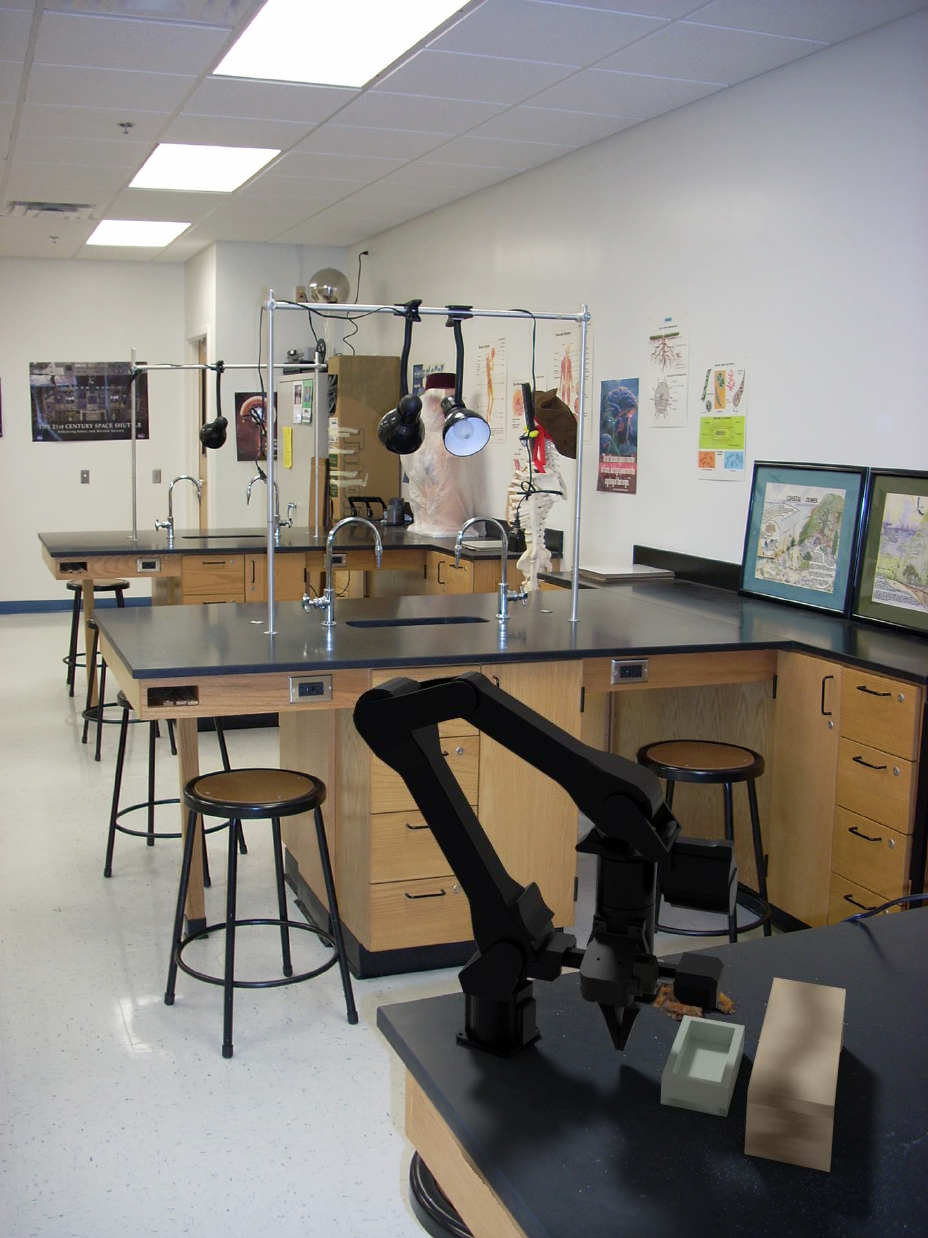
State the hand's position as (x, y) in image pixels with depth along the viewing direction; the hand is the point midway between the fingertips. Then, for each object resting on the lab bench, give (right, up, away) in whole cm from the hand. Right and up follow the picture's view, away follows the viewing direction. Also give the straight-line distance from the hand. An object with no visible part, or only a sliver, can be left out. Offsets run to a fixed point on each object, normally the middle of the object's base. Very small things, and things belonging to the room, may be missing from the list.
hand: (620, 1049), depth 116 cm
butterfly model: (+9, 0, +13) cm, 16 cm away
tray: (+8, -2, -3) cm, 8 cm away
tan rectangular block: (+16, -2, -6) cm, 17 cm away
